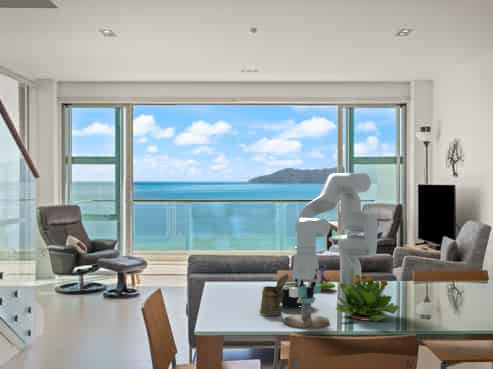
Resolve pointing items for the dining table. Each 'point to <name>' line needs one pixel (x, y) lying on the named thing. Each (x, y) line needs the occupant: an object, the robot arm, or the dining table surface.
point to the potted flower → (366, 299)
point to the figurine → (325, 283)
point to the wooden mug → (273, 297)
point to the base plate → (303, 323)
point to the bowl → (287, 299)
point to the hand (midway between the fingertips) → (306, 296)
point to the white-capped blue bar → (303, 293)
